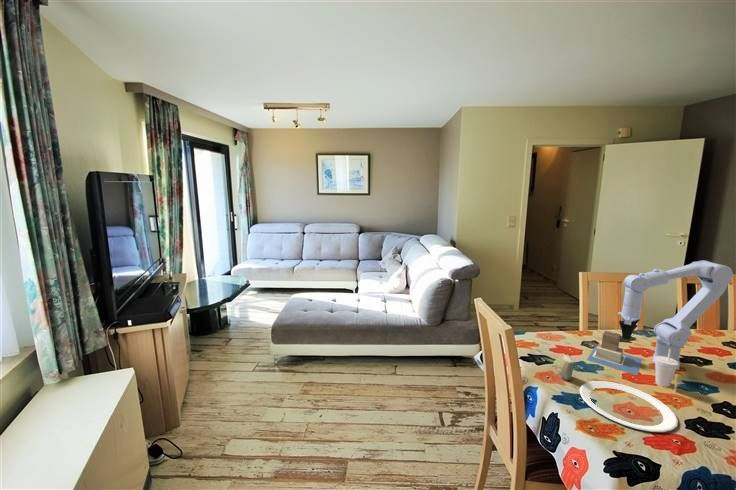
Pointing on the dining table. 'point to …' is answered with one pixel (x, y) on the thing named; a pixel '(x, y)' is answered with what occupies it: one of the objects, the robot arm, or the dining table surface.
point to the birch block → (609, 354)
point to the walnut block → (610, 341)
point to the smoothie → (665, 369)
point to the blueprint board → (626, 364)
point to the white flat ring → (668, 416)
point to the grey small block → (565, 368)
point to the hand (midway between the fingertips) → (627, 336)
